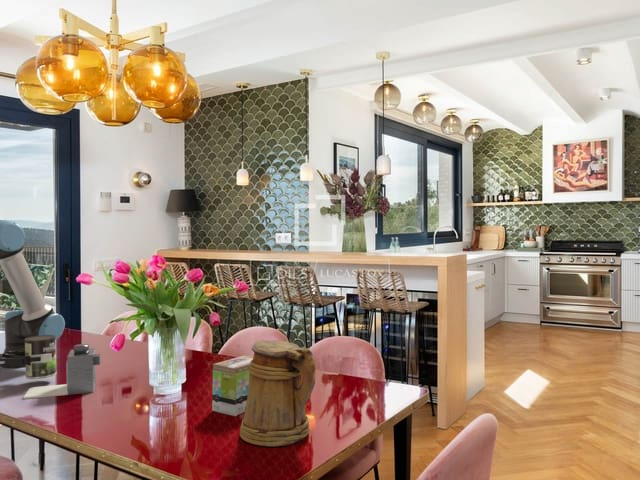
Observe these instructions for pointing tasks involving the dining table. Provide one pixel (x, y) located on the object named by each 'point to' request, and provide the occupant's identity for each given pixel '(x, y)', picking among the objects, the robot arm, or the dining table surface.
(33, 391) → the mount pad
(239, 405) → the tea box
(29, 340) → the coffee can
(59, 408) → the dining table surface
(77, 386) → the motor block
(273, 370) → the tankard
